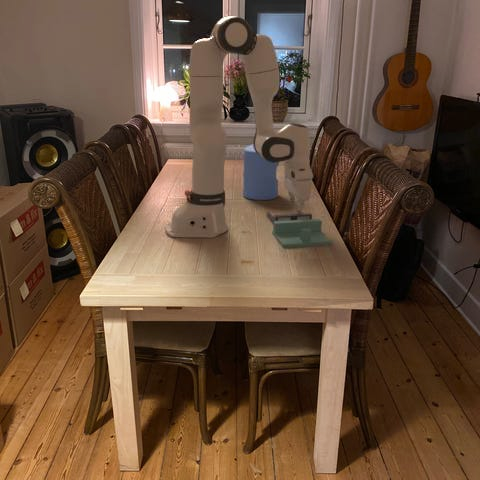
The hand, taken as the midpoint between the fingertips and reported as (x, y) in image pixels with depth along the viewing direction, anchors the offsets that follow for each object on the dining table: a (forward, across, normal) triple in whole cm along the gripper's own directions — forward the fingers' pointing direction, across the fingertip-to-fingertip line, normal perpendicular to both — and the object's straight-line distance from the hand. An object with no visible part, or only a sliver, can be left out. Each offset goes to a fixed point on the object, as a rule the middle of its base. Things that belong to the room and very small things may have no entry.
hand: (296, 206), depth 186 cm
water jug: (+7, -40, -4) cm, 41 cm away
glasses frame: (+7, -5, -1) cm, 9 cm away
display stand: (+7, +15, -3) cm, 17 cm away
